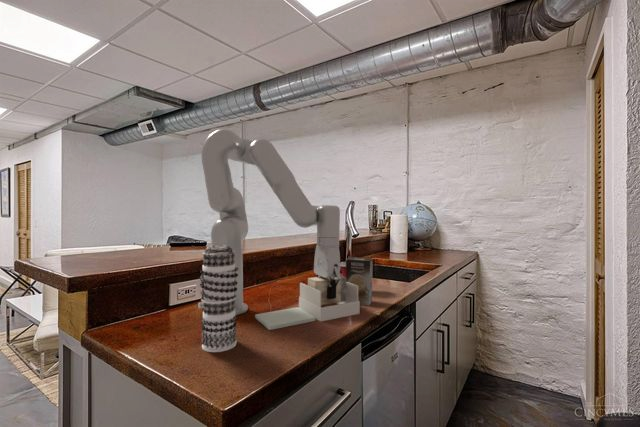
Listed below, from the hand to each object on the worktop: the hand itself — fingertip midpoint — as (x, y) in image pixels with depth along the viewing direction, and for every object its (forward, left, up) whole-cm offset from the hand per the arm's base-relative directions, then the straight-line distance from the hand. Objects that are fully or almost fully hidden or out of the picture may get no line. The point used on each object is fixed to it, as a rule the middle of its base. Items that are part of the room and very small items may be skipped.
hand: (326, 295), depth 109 cm
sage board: (-16, 0, -5) cm, 16 cm away
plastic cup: (+22, +17, -5) cm, 29 cm away
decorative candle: (-38, -9, -5) cm, 39 cm away
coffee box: (+15, +3, -5) cm, 17 cm away
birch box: (0, 0, -2) cm, 2 cm away
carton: (0, 0, -5) cm, 5 cm away
